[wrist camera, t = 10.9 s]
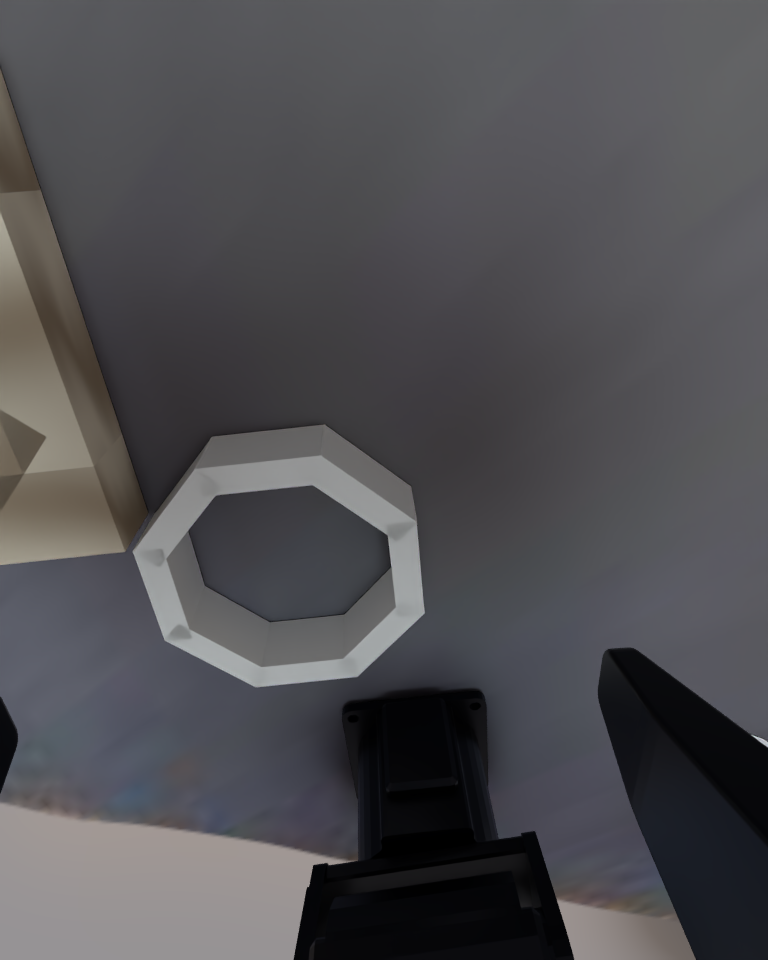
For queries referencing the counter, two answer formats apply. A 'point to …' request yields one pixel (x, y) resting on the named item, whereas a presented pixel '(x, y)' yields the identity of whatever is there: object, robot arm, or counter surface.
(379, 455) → the counter surface
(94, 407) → the socket plate
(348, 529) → the counter surface
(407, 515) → the octagonal ring
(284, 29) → the counter surface
